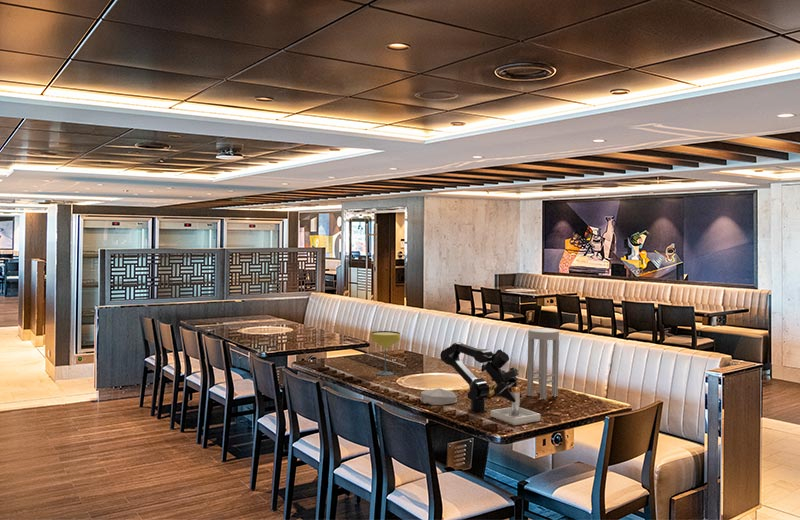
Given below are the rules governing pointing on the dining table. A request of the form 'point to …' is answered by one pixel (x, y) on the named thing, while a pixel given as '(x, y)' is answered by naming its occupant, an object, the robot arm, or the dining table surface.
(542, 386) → the stool
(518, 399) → the pin
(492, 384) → the kendama
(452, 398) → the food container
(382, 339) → the cocktail glass
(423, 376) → the dining table surface
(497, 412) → the pin tray
